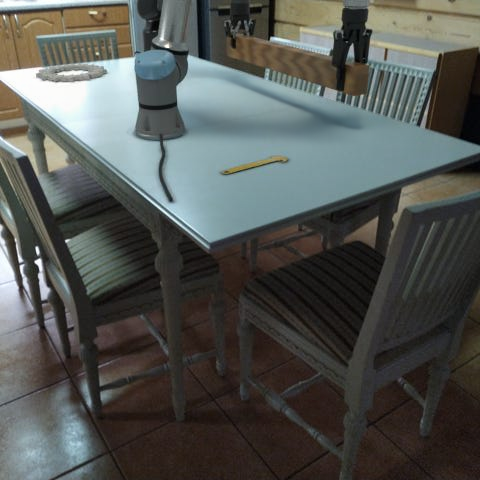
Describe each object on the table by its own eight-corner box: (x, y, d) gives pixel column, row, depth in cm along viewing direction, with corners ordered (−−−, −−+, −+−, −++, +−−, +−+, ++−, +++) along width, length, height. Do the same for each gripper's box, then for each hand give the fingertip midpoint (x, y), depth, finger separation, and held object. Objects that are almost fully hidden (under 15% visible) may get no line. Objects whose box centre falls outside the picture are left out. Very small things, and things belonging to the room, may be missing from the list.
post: (366, 94, 158) (369, 65, 154) (354, 96, 155) (357, 67, 151) (237, 54, 214) (237, 33, 210) (226, 55, 211) (226, 34, 207)
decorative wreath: (113, 77, 224) (98, 64, 248) (112, 73, 223) (97, 61, 247) (41, 84, 213) (32, 70, 236) (40, 81, 212) (32, 67, 236)
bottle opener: (228, 177, 130) (290, 160, 140) (228, 176, 130) (290, 159, 139) (218, 171, 133) (279, 155, 143) (218, 170, 133) (279, 154, 143)
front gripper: (369, 4, 156) (360, 82, 168) (322, 7, 148) (316, 90, 159) (387, 6, 150) (377, 87, 162) (340, 10, 142) (332, 95, 154)
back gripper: (250, -1, 204) (249, 44, 212) (218, 1, 197) (219, 47, 206) (260, 1, 198) (259, 47, 207) (228, 3, 192) (228, 51, 200)
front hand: (347, 88), depth 161 cm, fingers closed on post, 5 cm apart
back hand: (239, 47), depth 206 cm, fingers closed on post, 5 cm apart
